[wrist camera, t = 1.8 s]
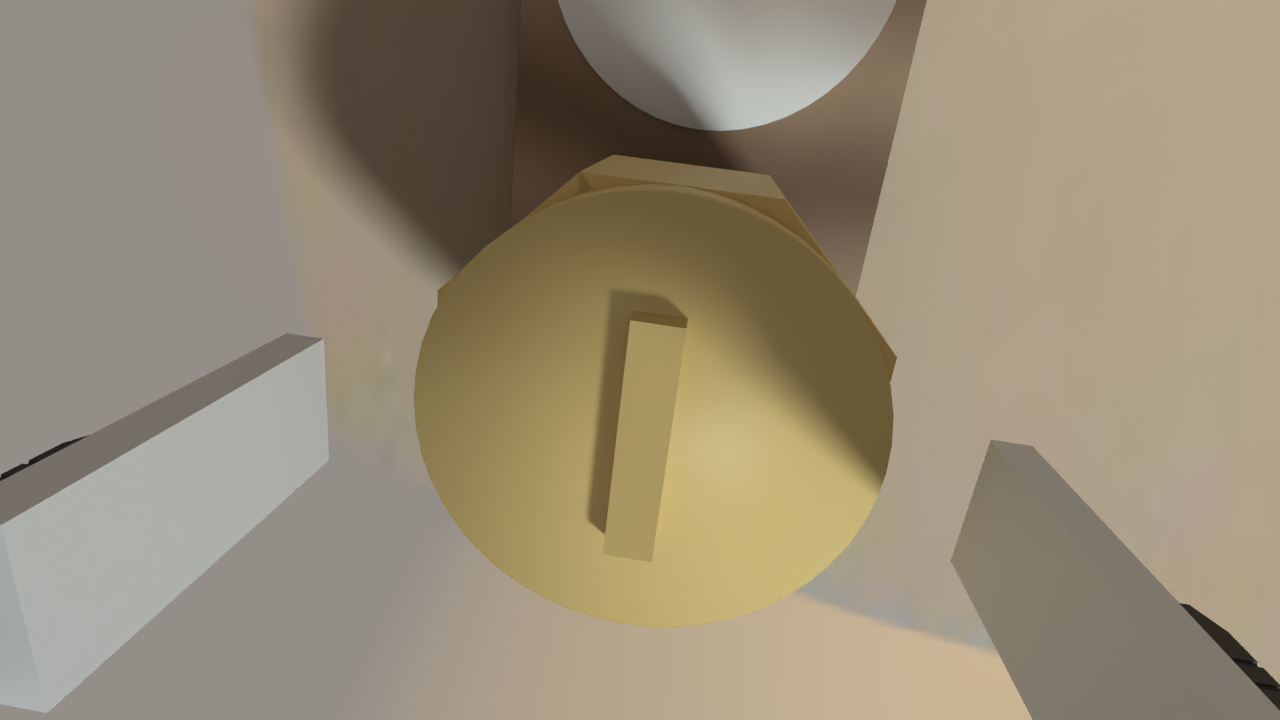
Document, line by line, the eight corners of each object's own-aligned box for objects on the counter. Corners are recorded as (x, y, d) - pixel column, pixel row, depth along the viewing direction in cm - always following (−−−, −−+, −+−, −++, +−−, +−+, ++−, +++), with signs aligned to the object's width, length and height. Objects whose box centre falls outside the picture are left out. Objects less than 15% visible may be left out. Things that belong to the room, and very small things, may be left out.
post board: (545, -285, 18) (391, -620, 10) (975, -245, 17) (1212, -570, 9) (509, 406, 25) (403, 559, 17) (810, 454, 25) (856, 637, 16)
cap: (506, 140, 17) (397, 160, 12) (882, 189, 17) (966, 237, 11) (491, 465, 21) (402, 605, 15) (804, 515, 20) (837, 681, 14)
